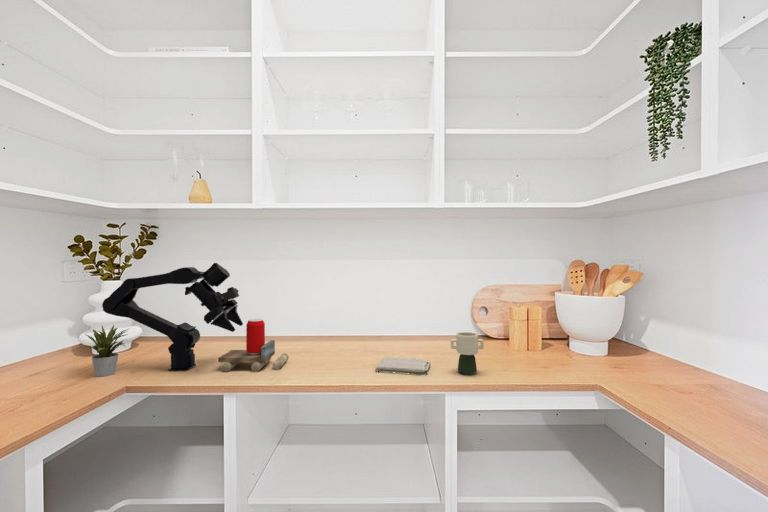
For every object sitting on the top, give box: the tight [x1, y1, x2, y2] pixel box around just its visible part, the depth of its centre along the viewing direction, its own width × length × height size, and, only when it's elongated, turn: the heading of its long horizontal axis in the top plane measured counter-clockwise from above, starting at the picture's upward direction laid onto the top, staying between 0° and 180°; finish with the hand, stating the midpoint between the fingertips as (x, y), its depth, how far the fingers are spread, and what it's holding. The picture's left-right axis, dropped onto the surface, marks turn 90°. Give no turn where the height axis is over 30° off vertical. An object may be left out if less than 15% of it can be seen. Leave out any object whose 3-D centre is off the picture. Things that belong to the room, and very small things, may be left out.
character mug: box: [450, 331, 485, 375], centre depth 123 cm, size 11×7×13 cm, turn 87°
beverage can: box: [245, 318, 266, 355], centre depth 131 cm, size 6×6×12 cm
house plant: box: [80, 324, 129, 378], centre depth 122 cm, size 14×14×16 cm
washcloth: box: [375, 356, 432, 376], centre depth 128 cm, size 12×18×3 cm, turn 77°
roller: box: [272, 353, 290, 370], centre depth 132 cm, size 3×10×3 cm, turn 1°
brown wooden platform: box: [217, 339, 276, 373], centre depth 131 cm, size 16×13×8 cm
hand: (238, 327), depth 131 cm, fingers open, 9 cm apart
